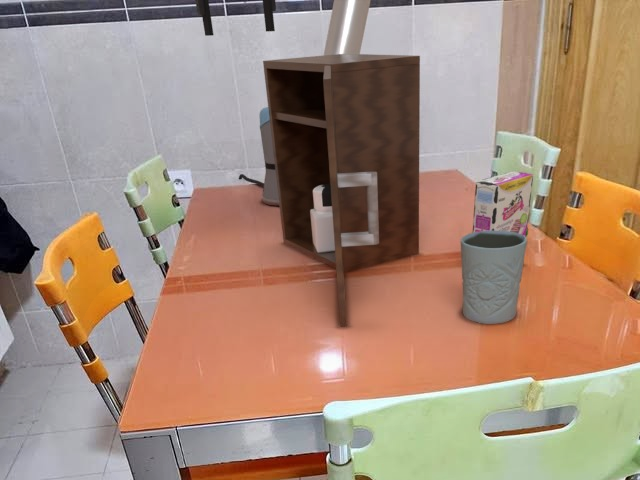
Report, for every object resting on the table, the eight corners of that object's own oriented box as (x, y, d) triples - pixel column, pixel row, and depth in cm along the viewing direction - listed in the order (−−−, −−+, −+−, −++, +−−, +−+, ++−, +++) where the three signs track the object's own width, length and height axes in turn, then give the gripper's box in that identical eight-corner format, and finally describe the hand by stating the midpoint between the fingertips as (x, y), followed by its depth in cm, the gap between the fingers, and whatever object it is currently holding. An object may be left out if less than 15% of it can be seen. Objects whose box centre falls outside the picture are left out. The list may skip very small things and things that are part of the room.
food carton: (490, 280, 119) (497, 184, 109) (468, 275, 122) (473, 181, 112) (525, 265, 125) (534, 172, 115) (503, 260, 128) (511, 169, 118)
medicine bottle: (345, 240, 140) (341, 180, 133) (351, 249, 134) (348, 187, 127) (312, 243, 139) (307, 183, 132) (317, 253, 133) (312, 191, 126)
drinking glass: (481, 330, 101) (486, 252, 94) (445, 310, 108) (447, 236, 101) (532, 316, 104) (541, 240, 97) (494, 298, 112) (500, 225, 105)
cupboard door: (373, 271, 126) (365, 63, 106) (382, 323, 104) (375, 75, 84) (338, 273, 126) (324, 65, 106) (340, 326, 104) (323, 78, 84)
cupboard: (344, 273, 126) (331, 64, 106) (283, 243, 145) (262, 60, 124) (418, 254, 133) (420, 55, 113) (352, 228, 152) (342, 53, 132)
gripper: (164, -111, 113) (188, 37, 125) (291, -107, 123) (302, 29, 135) (151, -104, 118) (176, 37, 130) (274, -101, 128) (286, 29, 140)
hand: (240, 33), depth 133 cm, fingers open, 13 cm apart
